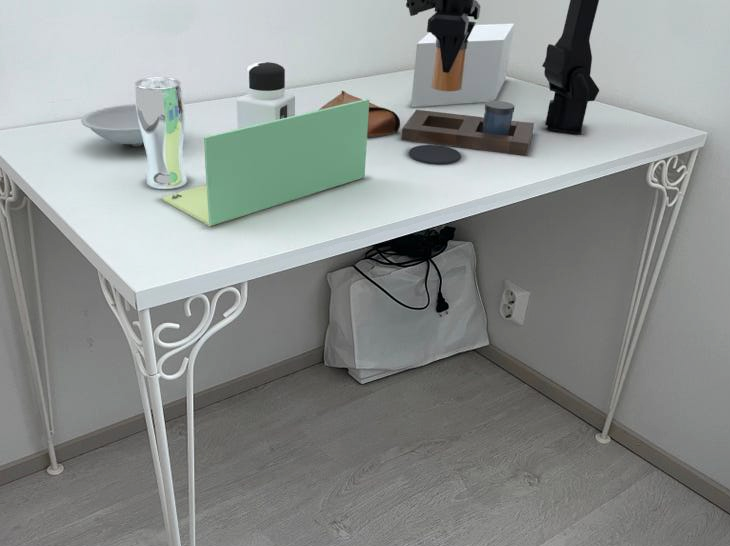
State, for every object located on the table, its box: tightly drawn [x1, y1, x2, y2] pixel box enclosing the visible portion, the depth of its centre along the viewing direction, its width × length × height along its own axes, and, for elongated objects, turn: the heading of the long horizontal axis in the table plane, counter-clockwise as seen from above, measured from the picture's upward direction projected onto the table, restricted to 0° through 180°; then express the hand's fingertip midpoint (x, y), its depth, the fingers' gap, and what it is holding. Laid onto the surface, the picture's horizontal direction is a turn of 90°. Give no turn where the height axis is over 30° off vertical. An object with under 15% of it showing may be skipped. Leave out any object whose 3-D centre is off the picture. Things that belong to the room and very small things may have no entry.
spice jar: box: [482, 100, 516, 136], centre depth 136 cm, size 5×5×6 cm
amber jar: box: [431, 39, 468, 91], centre depth 132 cm, size 6×6×8 cm
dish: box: [80, 103, 143, 147], centre depth 129 cm, size 18×14×5 cm
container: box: [236, 61, 296, 129], centre depth 131 cm, size 8×8×13 cm
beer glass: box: [134, 76, 188, 190], centre depth 112 cm, size 7×7×15 cm
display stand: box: [161, 98, 370, 227], centre depth 112 cm, size 30×12×12 cm, turn 132°
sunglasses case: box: [316, 90, 401, 138], centre depth 143 cm, size 18×7×7 cm, turn 36°
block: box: [410, 23, 515, 108], centre depth 161 cm, size 18×35×12 cm, turn 135°
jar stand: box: [400, 109, 535, 156], centre depth 138 cm, size 23×13×2 cm, turn 72°
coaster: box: [408, 144, 462, 165], centre depth 130 cm, size 9×9×1 cm
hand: (448, 68), depth 132 cm, fingers closed on amber jar, 5 cm apart
